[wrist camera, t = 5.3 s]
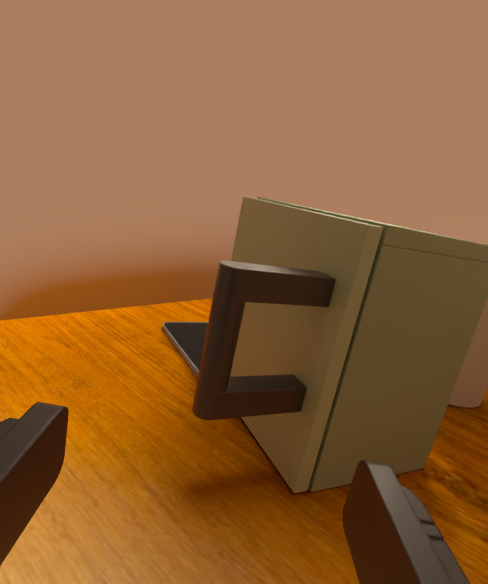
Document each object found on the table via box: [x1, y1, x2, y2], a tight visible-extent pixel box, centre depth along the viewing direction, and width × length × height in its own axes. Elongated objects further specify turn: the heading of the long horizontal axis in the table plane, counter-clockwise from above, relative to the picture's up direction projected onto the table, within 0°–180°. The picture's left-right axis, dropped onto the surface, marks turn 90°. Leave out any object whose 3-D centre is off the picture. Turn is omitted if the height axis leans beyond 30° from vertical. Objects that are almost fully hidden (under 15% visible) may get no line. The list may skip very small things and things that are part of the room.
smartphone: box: [163, 322, 208, 378], centre depth 39 cm, size 7×1×15 cm
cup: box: [448, 298, 488, 408], centre depth 41 cm, size 9×9×12 cm
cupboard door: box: [192, 196, 383, 493], centre depth 25 cm, size 7×14×16 cm, turn 25°
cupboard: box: [257, 197, 488, 492], centre depth 29 cm, size 10×14×16 cm
